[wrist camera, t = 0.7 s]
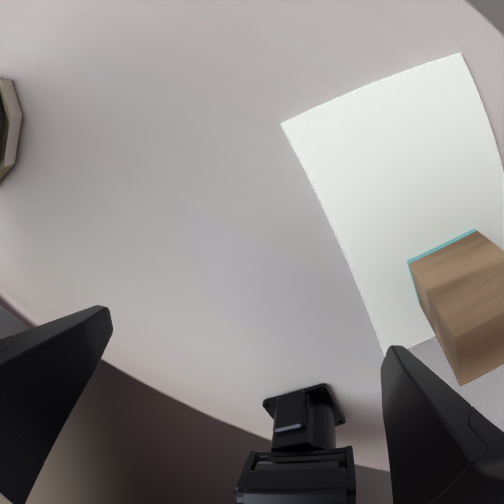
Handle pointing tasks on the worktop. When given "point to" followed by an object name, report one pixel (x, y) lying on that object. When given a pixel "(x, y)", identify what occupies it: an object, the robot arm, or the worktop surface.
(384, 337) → the white mat
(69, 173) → the worktop surface
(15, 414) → the robot arm
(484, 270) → the wooden block
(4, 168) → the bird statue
